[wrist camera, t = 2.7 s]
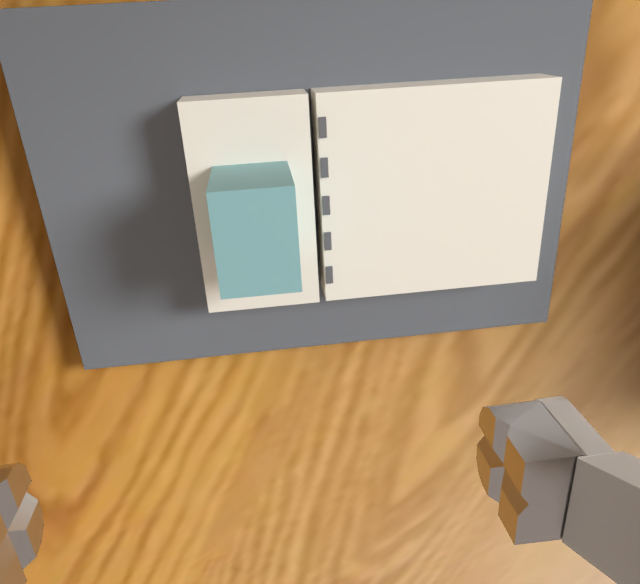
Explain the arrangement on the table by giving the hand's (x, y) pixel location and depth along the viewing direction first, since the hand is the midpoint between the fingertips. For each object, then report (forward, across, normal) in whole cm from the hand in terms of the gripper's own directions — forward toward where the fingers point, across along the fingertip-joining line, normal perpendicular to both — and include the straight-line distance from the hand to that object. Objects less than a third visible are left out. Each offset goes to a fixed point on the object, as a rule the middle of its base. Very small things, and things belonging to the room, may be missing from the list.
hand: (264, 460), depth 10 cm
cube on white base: (+17, 0, 0) cm, 17 cm away
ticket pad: (+17, -8, 0) cm, 19 cm away
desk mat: (+18, -3, 0) cm, 19 cm away
